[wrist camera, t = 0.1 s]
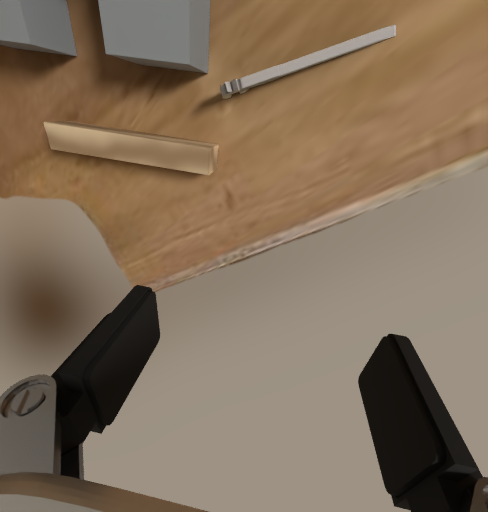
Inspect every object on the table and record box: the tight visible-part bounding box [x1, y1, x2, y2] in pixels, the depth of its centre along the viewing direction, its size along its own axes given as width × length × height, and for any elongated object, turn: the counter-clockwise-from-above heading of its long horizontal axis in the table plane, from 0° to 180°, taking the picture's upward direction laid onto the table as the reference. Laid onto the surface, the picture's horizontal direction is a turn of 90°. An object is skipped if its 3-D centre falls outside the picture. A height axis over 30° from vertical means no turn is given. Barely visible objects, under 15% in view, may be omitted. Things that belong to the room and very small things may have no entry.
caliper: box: [220, 25, 396, 99], centre depth 27 cm, size 20×1×6 cm, turn 107°
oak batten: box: [44, 121, 219, 175], centre depth 36 cm, size 4×24×5 cm, turn 83°
